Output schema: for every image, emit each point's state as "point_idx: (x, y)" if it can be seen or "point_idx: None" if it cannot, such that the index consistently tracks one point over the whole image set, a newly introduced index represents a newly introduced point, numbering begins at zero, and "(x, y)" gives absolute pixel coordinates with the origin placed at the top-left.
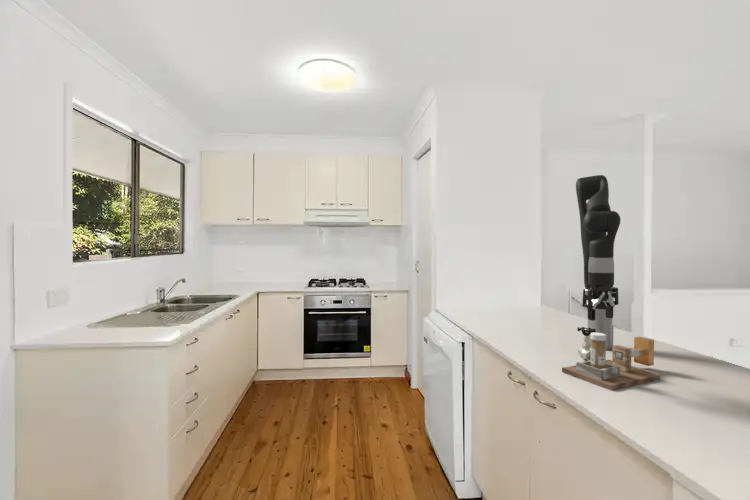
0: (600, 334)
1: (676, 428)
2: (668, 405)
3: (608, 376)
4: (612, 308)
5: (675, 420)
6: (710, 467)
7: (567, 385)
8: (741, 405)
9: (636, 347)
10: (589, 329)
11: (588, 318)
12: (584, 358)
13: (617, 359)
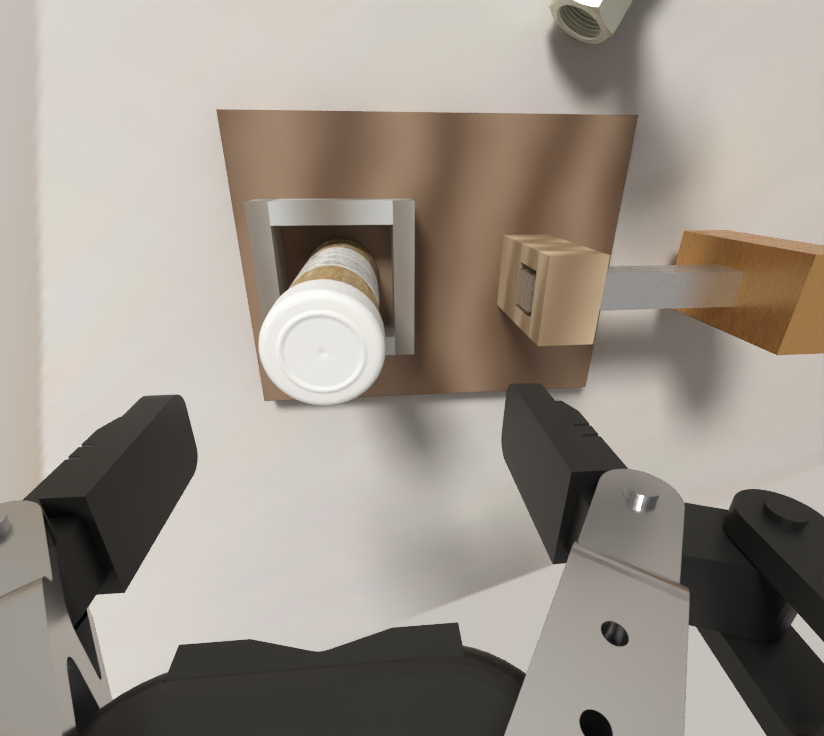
0: (319, 376)
1: (213, 602)
2: (340, 522)
3: None
4: (565, 549)
5: (257, 579)
6: (121, 692)
7: (112, 285)
8: (534, 568)
9: (748, 259)
10: None
11: (145, 403)
12: None
13: (517, 274)
